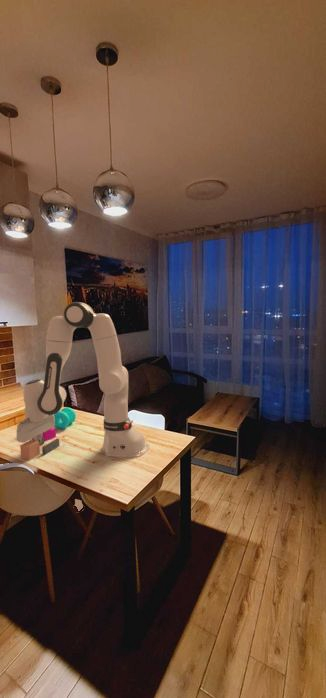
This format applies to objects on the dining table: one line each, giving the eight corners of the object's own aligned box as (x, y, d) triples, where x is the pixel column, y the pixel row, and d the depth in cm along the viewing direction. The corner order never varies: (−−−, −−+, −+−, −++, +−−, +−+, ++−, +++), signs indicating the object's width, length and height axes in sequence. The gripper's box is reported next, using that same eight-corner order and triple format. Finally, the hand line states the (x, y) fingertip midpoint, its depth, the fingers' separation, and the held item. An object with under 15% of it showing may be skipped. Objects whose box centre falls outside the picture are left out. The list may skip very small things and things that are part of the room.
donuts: (51, 429, 164) (50, 411, 163) (61, 422, 174) (60, 406, 173) (68, 430, 162) (66, 412, 161) (77, 423, 172) (76, 407, 171)
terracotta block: (40, 453, 134) (39, 441, 134) (30, 460, 129) (28, 447, 128) (31, 452, 136) (30, 440, 135) (21, 458, 130) (20, 445, 130)
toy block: (56, 437, 153) (55, 423, 152) (45, 441, 148) (44, 427, 147) (39, 431, 162) (38, 418, 161) (28, 435, 157) (27, 421, 156)
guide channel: (59, 445, 143) (59, 438, 142) (44, 455, 133) (44, 447, 133) (42, 442, 146) (41, 436, 146) (26, 451, 137) (26, 444, 136)
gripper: (22, 423, 124) (25, 454, 126) (56, 409, 143) (58, 436, 145) (11, 422, 126) (14, 452, 128) (46, 407, 145) (47, 434, 147)
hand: (37, 443), depth 136 cm, fingers closed
